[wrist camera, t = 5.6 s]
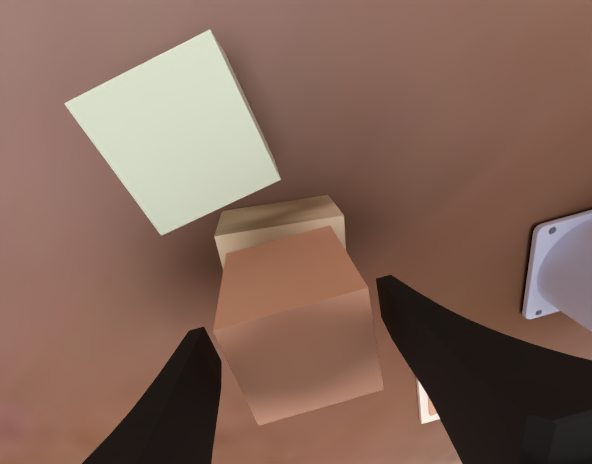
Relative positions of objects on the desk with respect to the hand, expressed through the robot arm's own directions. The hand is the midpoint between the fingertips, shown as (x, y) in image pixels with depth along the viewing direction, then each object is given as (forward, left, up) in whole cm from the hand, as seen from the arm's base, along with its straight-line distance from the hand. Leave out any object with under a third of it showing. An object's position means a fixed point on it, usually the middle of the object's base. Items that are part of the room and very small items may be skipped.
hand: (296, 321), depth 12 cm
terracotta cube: (0, 0, -3) cm, 3 cm away
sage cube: (+2, -8, -6) cm, 10 cm away
